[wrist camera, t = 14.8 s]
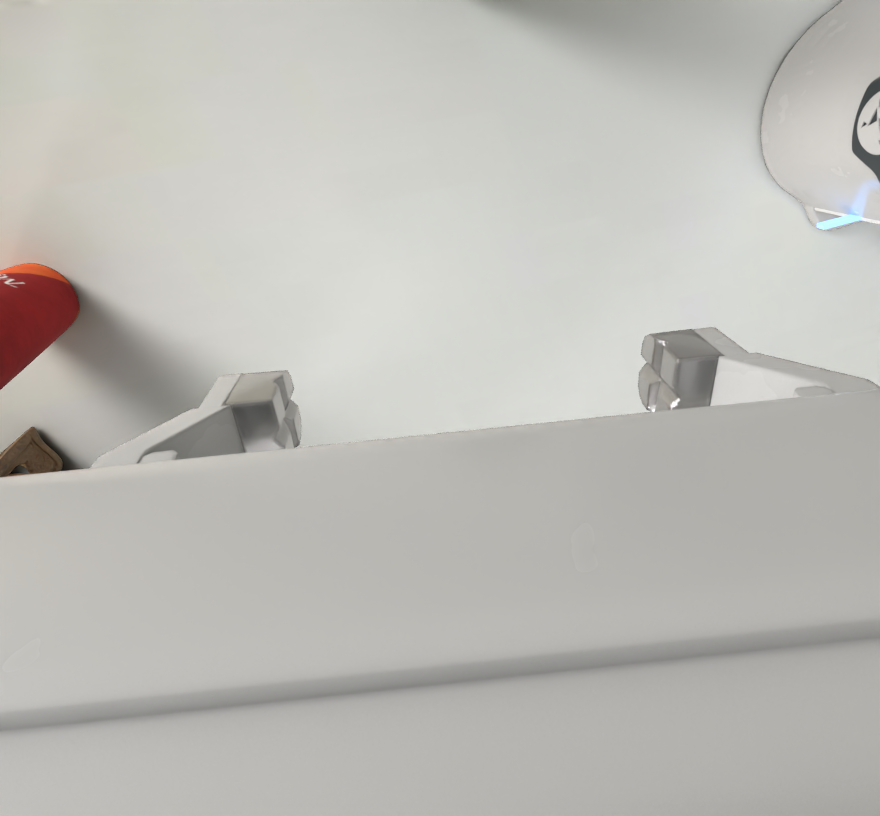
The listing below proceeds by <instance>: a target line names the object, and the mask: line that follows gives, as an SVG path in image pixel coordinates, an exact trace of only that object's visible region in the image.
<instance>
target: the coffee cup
mask: <svg viewBox="0 0 880 816" xmlns="http://www.w3.org/2000/svg"><path fill="white" fill-rule="evenodd" d="M78 313H79V301H78V297H77V294H76V292H75V290H74V289H73V287H72V286H71V284H70V283H69V282H68V281H67V280H66V279H65V278H64V277H63V276H62V275H61V274H59V273H58V272H56V271H55V270H53V269H51V268H49V267H46V266H43V265H39V264H32V263H28V264H21V265H17V266H13V267H10V268H7V269H4V270H1V271H0V390H1V389H2V388H3V387H4V386H5V385H6V384H7V383H9V382H10V381H11V380H12V379H13V378H14V377H15V376H16V375H17V374H19V373H20V372H21V371H22V370H23V369H24V368H25V367H26V366H27V365H29V364H30V363H31V362H32V361H33V360H34V359H35V358H36V357H37V356H39V355H40V354H41V353H42V352H43V351H44V350H45V349H46V348H47V347H48V346H50V345H51V344H52V343H53V342H54V341H55V340H56V339H57V338H58V337H59V336H60V335H62V334H63V333H64V332H65V331H66V330H67V329H68V328H69V327H70V326H71V325H72V323H73V322H74V321H75V319H76V318H77V316H78Z"/></svg>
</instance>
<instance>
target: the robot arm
mask: <svg viewBox="0 0 880 816" xmlns="http://www.w3.org/2000/svg"><path fill="white" fill-rule="evenodd" d="M761 145H762V152H763V156H764V160H765V163H766V165H767V168H768V170H769V172H770V174H771V176H772V177H773V179H774V180H775V181H776V182H777V184H778V185H779V186H780V187H781V188H782V189H784V190H785V191H786V192H788V193H789V194H791V195H792V196H793V197H795V198H796V199H798V200H799V201H800V202H801V203H802V204H803V206H804V208H805V211H806V213H807V215H808V217H809V219H810V221H811V223H812V224H813V225H814V227H816V228H817V229H822V230H827V231H830V230H835V229H839V228H842V227H845V226H849V225H852V224H855V223H859V222H862V221H866V222H871V223H876V224H880V0H842V1H841V2H840V3H839V4H838V5H837V6H835V7H834V8H833V9H831V10H830V11H829V12H828V13H826V14H825V15H824V16H823V17H821V18H820V19H819V20H818V21H817V22H816V23H814V24H813V25H812V26H811V27H810V28H809V29H808V30H807V31H806V32H805V33H804V35H803V36H802V37H801V38H800V39H799V40H798V41H797V43H796V44H795V45H794V46H793V48H792V49H791V51H790V52H789V53H788V55H787V56H786V58H785V59H784V61H783V63H782V64H781V66H780V68H779V70H778V72H777V74H776V76H775V78H774V80H773V82H772V85H771V87H770V90H769V92H768V95H767V99H766V102H765V106H764V110H763V115H762V123H761ZM641 355H642V356H643V358H644V359H645V361H646V362H647V363H646V364H645V365H644V367H643V368H642V369H641V370H640V372H639V380H638V388H639V395H640V398H641V401H642V404H643V405H644V406H645V408H646V409H647V410H649V411H651V412H645V413H635V414H625V415H615V416H605V417H596V418H586V419H576V420H566V421H556V422H546V423H536V424H526V425H516V426H506V427H496V428H486V429H477V430H467V431H457V432H447V433H437V434H427V435H417V436H407V437H397V438H387V439H377V440H368V441H358V442H348V443H338V444H328V445H318V446H308V447H298V448H295V447H297V446H298V445H299V444H300V440H301V418H300V412H299V408H298V405H296V404H295V403H294V402H293V401H292V400H291V396H292V393H293V390H294V387H293V383H292V379H291V375H290V374H289V372H288V370H285V371H273V372H261V373H248V374H242V373H240V374H231V375H223V376H219V377H218V379H217V380H216V382H215V383H214V385H213V386H212V388H211V389H210V391H209V393H208V394H207V396H206V397H205V399H204V400H203V402H202V403H201V405H200V407H199V408H194V409H190V410H188V411H186V412H184V413H182V414H180V415H179V416H177V417H175V418H173V419H171V420H169V421H167V422H165V423H163V424H161V425H159V426H157V427H155V428H153V429H151V430H149V431H148V432H146V433H144V434H142V435H140V436H138V437H136V438H134V439H132V440H130V441H128V442H126V443H124V444H122V445H120V446H118V447H116V448H115V449H113V450H111V451H109V452H107V453H105V454H103V455H101V456H99V457H98V458H97V460H96V461H95V462H94V463H93V465H92V466H91V467H90V468H88V469H78V470H68V471H58V472H48V473H38V474H28V475H18V476H8V477H0V816H880V387H879V386H878V385H876V384H875V383H873V382H871V381H870V380H868V379H864V378H859V377H855V376H851V375H847V374H843V373H839V372H835V371H830V370H826V369H822V368H818V367H814V366H810V365H805V364H801V363H797V362H793V361H789V360H785V359H781V358H776V357H772V356H768V355H764V354H760V353H748V352H747V351H746V350H744V349H743V348H742V347H740V346H739V345H738V344H736V343H735V342H734V341H732V340H731V339H730V338H728V337H727V336H726V335H724V334H723V333H722V332H720V331H719V330H718V329H716V328H714V327H708V328H700V329H693V330H692V329H687V330H679V331H671V332H662V333H654V334H649V335H647V336H645V337H644V340H643V343H642V350H641Z"/></svg>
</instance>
